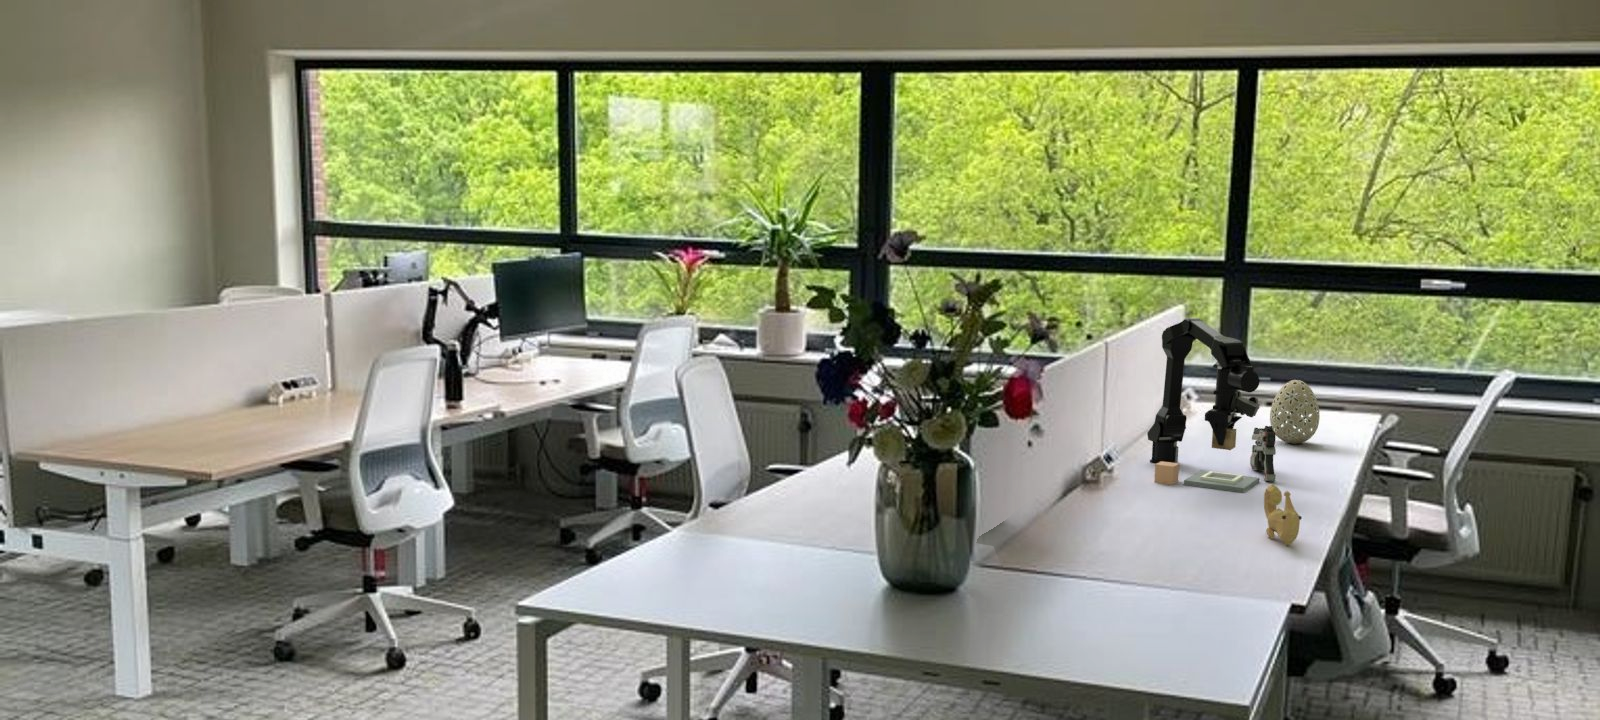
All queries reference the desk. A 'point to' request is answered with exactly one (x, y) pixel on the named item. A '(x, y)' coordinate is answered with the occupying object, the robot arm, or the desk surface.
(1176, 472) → the terracotta block
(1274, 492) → the toy
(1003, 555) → the desk surface
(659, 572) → the desk surface
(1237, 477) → the blueprint plate
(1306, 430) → the ornament
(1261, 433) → the toy blaster
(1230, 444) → the walnut block
